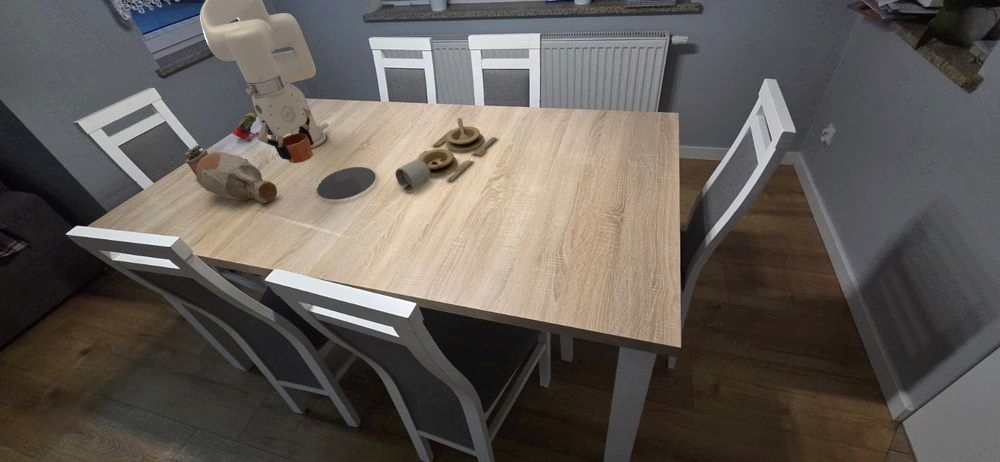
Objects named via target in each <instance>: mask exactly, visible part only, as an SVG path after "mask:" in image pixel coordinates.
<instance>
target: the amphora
mask: <svg viewBox="0 0 1000 462" xmlns="http://www.w3.org/2000/svg"><path fill="white" fill-rule="evenodd" d="M195 177H196V180H197V181H198V184H199V185H200V186H201V187H202V188H203V189H204V190H206V191H207V192H210V193H212V194H214V195H217V196H220V197H223V198H226V199H232V200H236V201H247V200H250V199H252V198H253V199H255V200H257V201H258V202H260V203H263V204H267V203H268V204H269V203H270V202H273V201H274V200H275V198H277V195H278V189H277V186H276V185H275V184H274V183H273V182H272V181H270V180H264V179H263V176H262V173H261V171H260V169H259V168H258V167H256V166H255V165H254V164H252V163H251V162H249V160H248V159H247V158H243V157H242V156H240V155H238V154H232V153H228V152H224V151H214V152H209V153H208V155H206V156H205V157H203V158H202V159H201V160H200V161H199V163H198V164H197V168H196V175H195Z"/></svg>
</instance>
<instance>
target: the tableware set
mask: <svg viewBox="0 0 1000 462" xmlns="http://www.w3.org/2000/svg"><path fill="white" fill-rule="evenodd" d="M456 121H457V125H458V127H457V128H454V129H451V130H449V131H448V132H446V133H445V134H444V135H443V136H442V137H441V138H439V139H438V140H437V141H436V142H434V143H433V145H432V146H433V147H434V148H435V149H429V150H427V151H426V150H424V152H422V153H421V154H420V155H419V156H418V157H417V159H420V160H422V161H424V162H425V163H426V164H427V165H428V167H429V169H430V173H431V175H430V178H433V177H434V178H436V177H441V176H444V175H447V174H449V173H450V172H452V171H454V170H455V171H456V172H454V174H452V175H450V177H449V178H448V182H449V183H452V182H453V181H455V180H456V179H457V178H458V177H459V176H461V174H462V173H463V172H464V171H465V170H466V169H467V168H469V167H470V166H471V165H472V164H473V161H472V160H465V161H464V162H463V163H461V165H459V166H458V159H457V157H456V156H455V155H454V153H453V152H460V153H461V152H462V153H463V152H470V151H473V150H475V149H476V150H475V151H474V152H473V153H472V156H477V157H478V156H479V157H482V156H483V155H484V154H485V152H486V149H488V148H489V147H490V146H491V145H493V144H494V143H495V142H496V141H497V138H496V136H493V137H491V138H490V139H488V141H487V142H486V143H484V141H485V137H484V135H483V134H482V133H481V131H480V130H479V129H478V128H477V127H475V126H469V125H468V126H464V122H463V118H462V117H458V118H457V120H456ZM444 143H445V146H446V148H447V149H446V148H438V147H440V146H441V145H443V144H444ZM483 144H484V145H483ZM481 145H483V146H481ZM480 146H481V147H480ZM479 147H480V148H479ZM452 151H453V152H452ZM457 166H458V167H457Z"/></svg>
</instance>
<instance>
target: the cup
mask: <svg viewBox="0 0 1000 462" xmlns="http://www.w3.org/2000/svg"><path fill="white" fill-rule="evenodd" d="M283 145H285V146H286V147H287V149H288V151H289V153H290V155H291V160H288V162H289V163H291V164H300V163H305V162H306V161H309V160H310V159H311V158H312V157H313V156H314V152H313V150H312V148H310V147H311V146H312V145H311V143H310V141H309V139H308V136H307V134H304V133H296V134H291V133H290V134H288V135H285V136H283Z"/></svg>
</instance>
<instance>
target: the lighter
mask: <svg viewBox="0 0 1000 462" xmlns="http://www.w3.org/2000/svg"><path fill="white" fill-rule="evenodd" d="M208 154H209V153H208V150H207V149H203V147H202V145H201V144H196V145H195V146H194V147H192V148H188V149H187V151H186V152H185V153H184V155H185V157H187V158H186V159H185V160H184V161H185V163H186V164H187V165H188V167H189V168H190V170H191V171H192V172H193V174H194V175H195V176H196V168H197V164H198V163H199V161H200V160H201V159H202V158H203V157H205V156H206V155H208Z"/></svg>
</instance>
